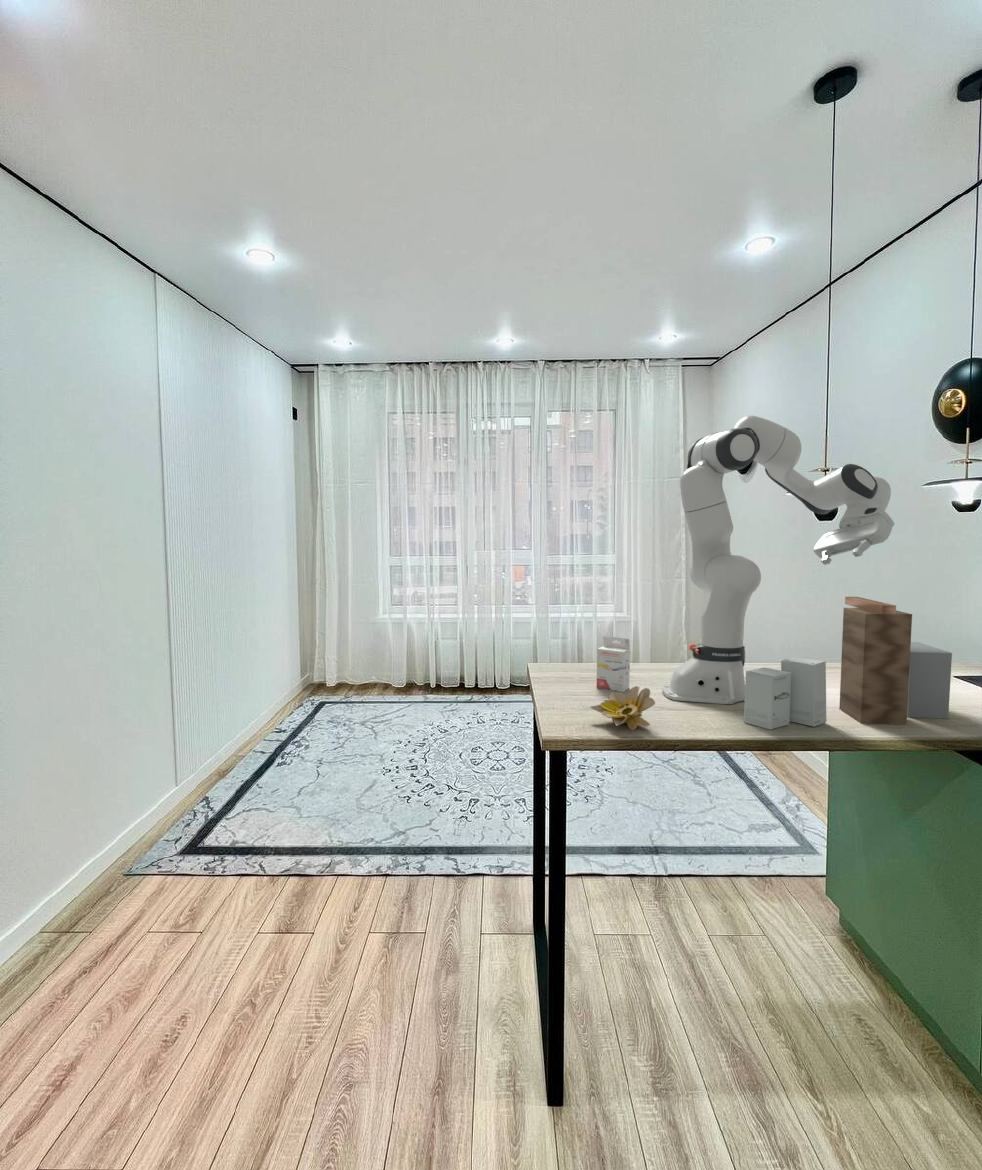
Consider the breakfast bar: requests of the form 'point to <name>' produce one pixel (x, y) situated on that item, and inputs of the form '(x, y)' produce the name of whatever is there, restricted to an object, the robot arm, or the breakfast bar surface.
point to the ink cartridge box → (613, 664)
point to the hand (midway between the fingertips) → (840, 558)
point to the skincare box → (807, 690)
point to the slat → (871, 605)
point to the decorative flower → (627, 707)
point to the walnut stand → (875, 666)
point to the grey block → (928, 682)
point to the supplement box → (767, 698)
